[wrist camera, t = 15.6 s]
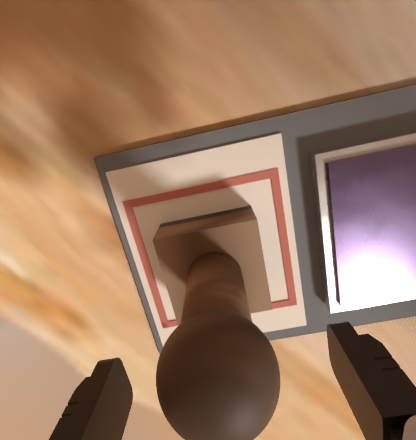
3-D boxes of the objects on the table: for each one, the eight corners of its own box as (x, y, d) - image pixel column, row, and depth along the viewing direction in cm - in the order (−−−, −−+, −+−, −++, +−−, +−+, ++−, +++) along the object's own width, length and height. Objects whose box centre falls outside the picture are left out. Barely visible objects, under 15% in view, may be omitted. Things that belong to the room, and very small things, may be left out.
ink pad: (479, 115, 17) (503, 114, 16) (467, 277, 20) (486, 289, 19) (308, 152, 18) (316, 155, 16) (324, 303, 21) (332, 316, 20)
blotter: (476, 70, 17) (487, 68, 16) (460, 304, 22) (468, 309, 21) (95, 157, 18) (91, 158, 18) (162, 354, 23) (160, 361, 23)
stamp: (250, 205, 19) (312, 335, 7) (264, 285, 20) (331, 489, 9) (160, 223, 19) (86, 372, 8) (182, 300, 21) (148, 511, 10)
